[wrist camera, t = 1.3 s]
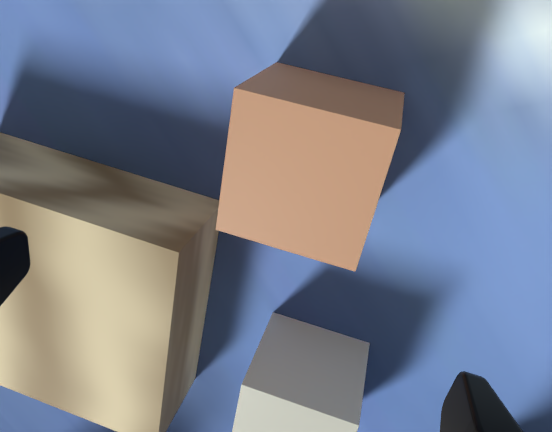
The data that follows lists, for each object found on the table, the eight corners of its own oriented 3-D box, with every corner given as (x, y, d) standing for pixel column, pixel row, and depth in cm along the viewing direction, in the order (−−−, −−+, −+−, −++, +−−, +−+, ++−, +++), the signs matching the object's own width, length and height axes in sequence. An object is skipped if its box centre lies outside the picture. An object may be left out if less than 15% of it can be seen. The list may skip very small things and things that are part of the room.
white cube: (369, 342, 23) (359, 425, 19) (345, 408, 25) (330, 496, 21) (273, 311, 24) (241, 384, 19) (258, 378, 26) (227, 457, 22)
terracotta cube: (404, 92, 17) (401, 129, 13) (368, 208, 20) (355, 271, 16) (277, 61, 18) (234, 87, 14) (257, 177, 21) (215, 229, 16)
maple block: (226, 198, 22) (178, 252, 17) (197, 374, 28) (156, 447, 23) (3, 129, 23) (-90, 163, 19) (21, 309, 29) (-47, 366, 25)
